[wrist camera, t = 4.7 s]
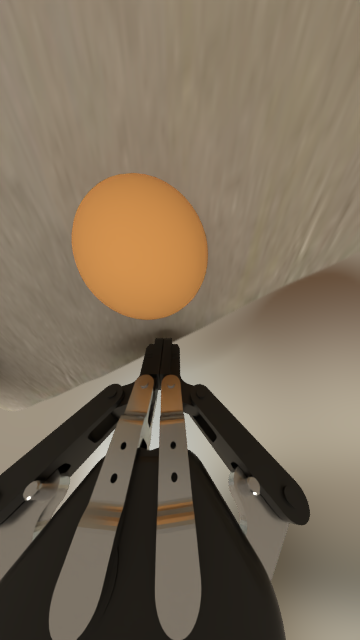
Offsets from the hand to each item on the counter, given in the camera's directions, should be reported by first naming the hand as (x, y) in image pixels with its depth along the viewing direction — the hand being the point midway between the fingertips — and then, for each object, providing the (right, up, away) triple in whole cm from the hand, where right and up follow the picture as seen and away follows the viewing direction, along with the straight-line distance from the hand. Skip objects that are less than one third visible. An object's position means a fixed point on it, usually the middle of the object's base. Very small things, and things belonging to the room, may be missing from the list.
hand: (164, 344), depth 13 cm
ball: (0, +5, -6) cm, 8 cm away
